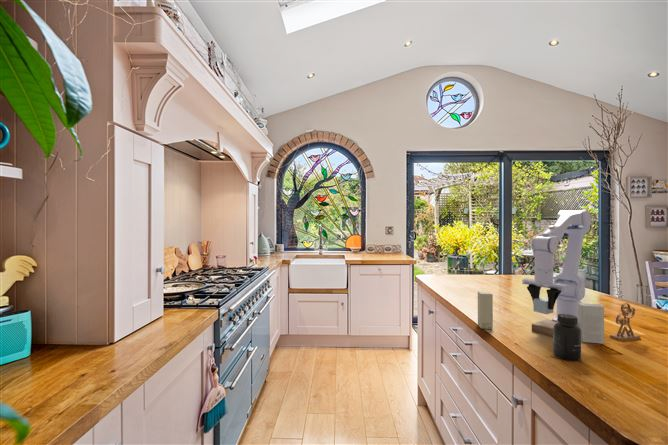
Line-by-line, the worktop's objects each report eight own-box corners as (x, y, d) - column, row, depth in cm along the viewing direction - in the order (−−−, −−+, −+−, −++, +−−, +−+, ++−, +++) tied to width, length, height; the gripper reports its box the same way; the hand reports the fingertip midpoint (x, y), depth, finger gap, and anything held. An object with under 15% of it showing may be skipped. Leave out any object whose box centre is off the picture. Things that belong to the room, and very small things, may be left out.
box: (493, 329, 121) (493, 294, 121) (480, 328, 122) (480, 293, 122) (489, 325, 127) (489, 291, 126) (477, 324, 127) (477, 290, 127)
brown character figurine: (621, 341, 110) (622, 305, 110) (609, 337, 114) (609, 302, 114) (641, 339, 113) (641, 303, 112) (628, 335, 116) (628, 300, 116)
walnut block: (546, 327, 126) (546, 319, 125) (576, 335, 117) (576, 327, 117) (531, 332, 120) (531, 323, 120) (561, 340, 112) (562, 331, 112)
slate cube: (540, 309, 124) (540, 297, 124) (553, 312, 120) (553, 300, 120) (533, 311, 122) (533, 298, 121) (546, 314, 118) (546, 301, 118)
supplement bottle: (582, 363, 93) (583, 321, 93) (553, 358, 97) (553, 317, 97) (580, 355, 99) (580, 314, 99) (552, 350, 103) (553, 311, 102)
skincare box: (598, 339, 112) (599, 304, 112) (604, 344, 108) (604, 307, 107) (577, 337, 114) (577, 302, 113) (582, 342, 110) (582, 305, 109)
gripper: (517, 267, 125) (517, 304, 125) (559, 273, 112) (559, 313, 112) (528, 266, 128) (528, 301, 128) (570, 271, 116) (570, 311, 116)
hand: (543, 307), depth 121 cm, fingers closed on slate cube, 4 cm apart
